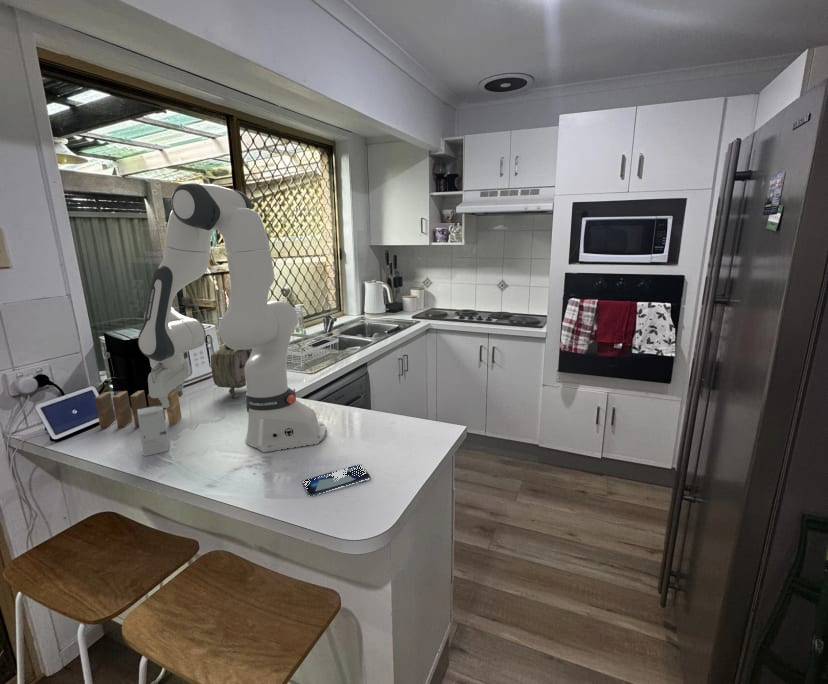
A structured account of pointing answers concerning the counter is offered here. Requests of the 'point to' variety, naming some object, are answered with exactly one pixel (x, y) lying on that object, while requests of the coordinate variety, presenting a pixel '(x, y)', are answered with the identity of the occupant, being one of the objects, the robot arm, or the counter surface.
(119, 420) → the domino
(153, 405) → the domino
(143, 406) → the domino
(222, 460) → the counter surface
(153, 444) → the skincare box
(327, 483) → the smartphone
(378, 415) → the counter surface
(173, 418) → the oak domino
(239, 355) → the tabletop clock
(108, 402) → the domino
